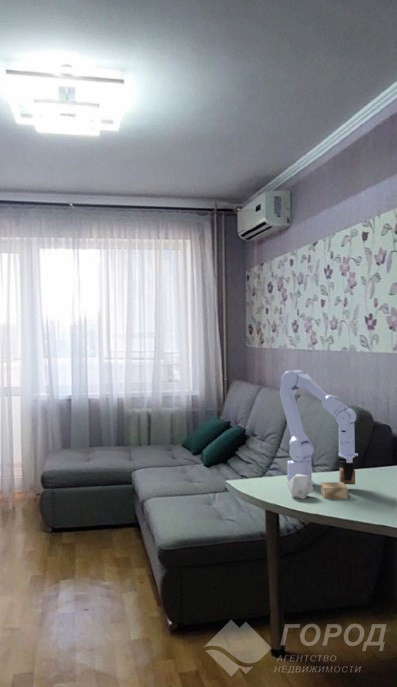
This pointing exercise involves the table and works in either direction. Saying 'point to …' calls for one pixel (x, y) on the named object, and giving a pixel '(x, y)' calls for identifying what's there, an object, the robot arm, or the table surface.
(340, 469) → the walnut cube
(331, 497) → the oak block
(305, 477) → the white faceted polyhedron
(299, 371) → the robot arm
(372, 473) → the table surface
